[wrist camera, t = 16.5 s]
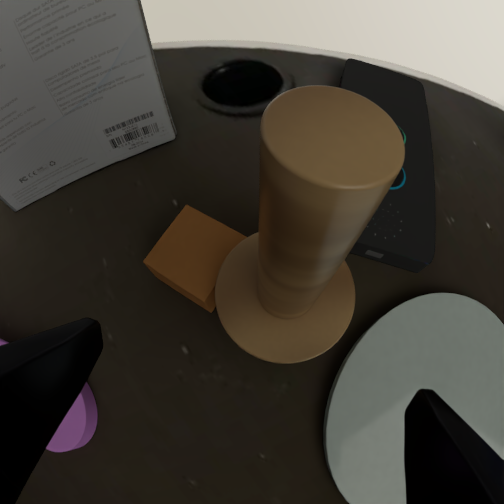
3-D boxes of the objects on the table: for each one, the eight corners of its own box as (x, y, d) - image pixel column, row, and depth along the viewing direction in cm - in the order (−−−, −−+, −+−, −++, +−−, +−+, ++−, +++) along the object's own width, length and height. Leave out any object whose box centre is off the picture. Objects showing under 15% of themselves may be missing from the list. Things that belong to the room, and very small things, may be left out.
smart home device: (306, 226, 17) (345, 55, 25) (302, 240, 19) (342, 69, 26) (437, 266, 16) (424, 81, 24) (424, 276, 18) (419, 94, 25)
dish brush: (356, 330, 16) (532, 208, 4) (255, 387, 15) (258, 415, 3) (300, 238, 19) (354, 30, 7) (203, 285, 18) (115, 92, 5)
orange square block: (211, 313, 17) (204, 302, 15) (156, 277, 18) (142, 261, 16) (249, 255, 18) (248, 237, 16) (194, 225, 19) (186, 203, 17)
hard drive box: (160, 90, 25) (117, -106, 7) (179, 141, 22) (122, -120, 4) (19, 155, 23) (-76, 5, 4) (12, 217, 20) (-126, 48, 2)
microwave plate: (480, 513, 10) (486, 516, 10) (284, 510, 12) (285, 515, 12) (525, 321, 16) (532, 319, 15) (361, 268, 18) (365, 263, 17)
